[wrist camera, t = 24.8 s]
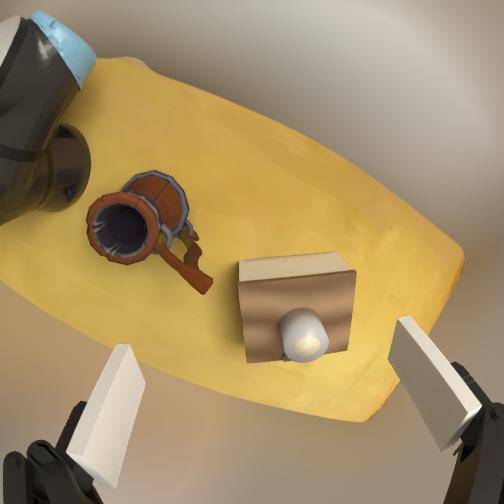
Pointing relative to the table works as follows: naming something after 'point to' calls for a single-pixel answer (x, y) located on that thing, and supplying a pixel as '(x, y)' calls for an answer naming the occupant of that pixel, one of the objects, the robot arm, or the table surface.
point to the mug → (146, 225)
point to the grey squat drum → (303, 335)
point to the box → (290, 266)
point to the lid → (291, 297)
